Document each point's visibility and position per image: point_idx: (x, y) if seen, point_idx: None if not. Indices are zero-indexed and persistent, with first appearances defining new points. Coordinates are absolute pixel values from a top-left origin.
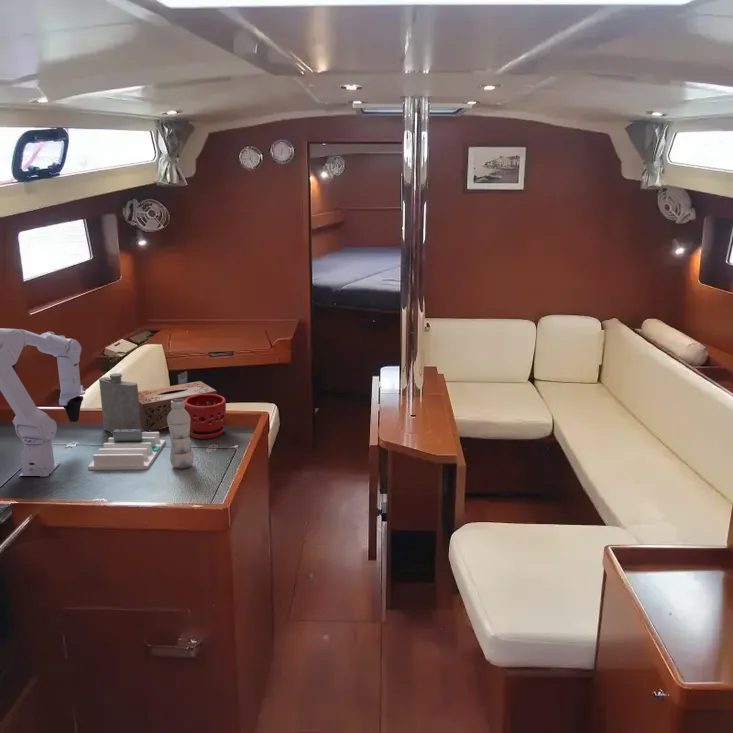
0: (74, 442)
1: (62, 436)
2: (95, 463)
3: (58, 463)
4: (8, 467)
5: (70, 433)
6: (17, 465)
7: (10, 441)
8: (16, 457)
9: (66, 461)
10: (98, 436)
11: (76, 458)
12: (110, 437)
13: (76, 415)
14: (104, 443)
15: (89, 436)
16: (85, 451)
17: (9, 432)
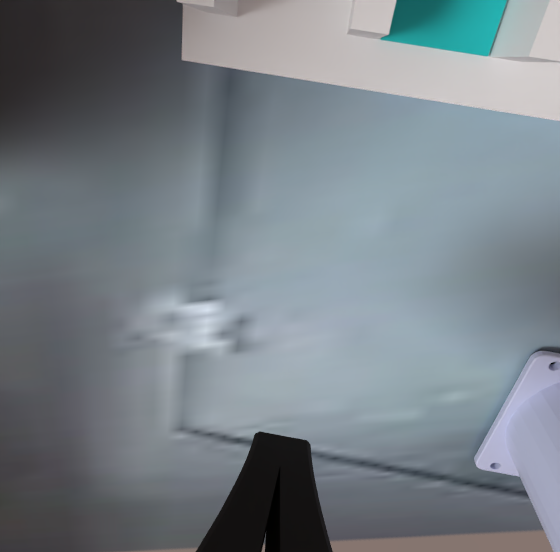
0: (157, 318)
1: (63, 383)
2: None
3: (558, 360)
4: (468, 529)
5: (12, 354)
6: (455, 505)
7: (139, 541)
8: (343, 515)
9: (494, 320)
10: (40, 189)
11: (460, 271)
12: (355, 11)
13: (322, 522)
14: (552, 51)
15: (47, 248)
16: (335, 233)
17: (38, 549)
